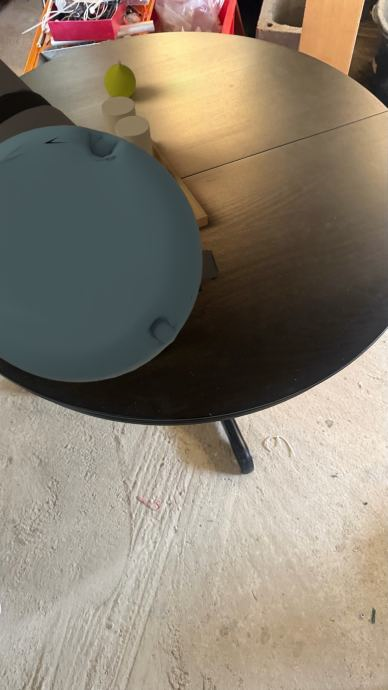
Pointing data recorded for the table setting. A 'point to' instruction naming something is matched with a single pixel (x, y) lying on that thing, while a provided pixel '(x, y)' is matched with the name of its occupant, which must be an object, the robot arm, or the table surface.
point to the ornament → (120, 81)
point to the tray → (197, 209)
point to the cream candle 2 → (135, 132)
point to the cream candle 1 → (116, 111)
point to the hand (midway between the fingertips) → (109, 302)
